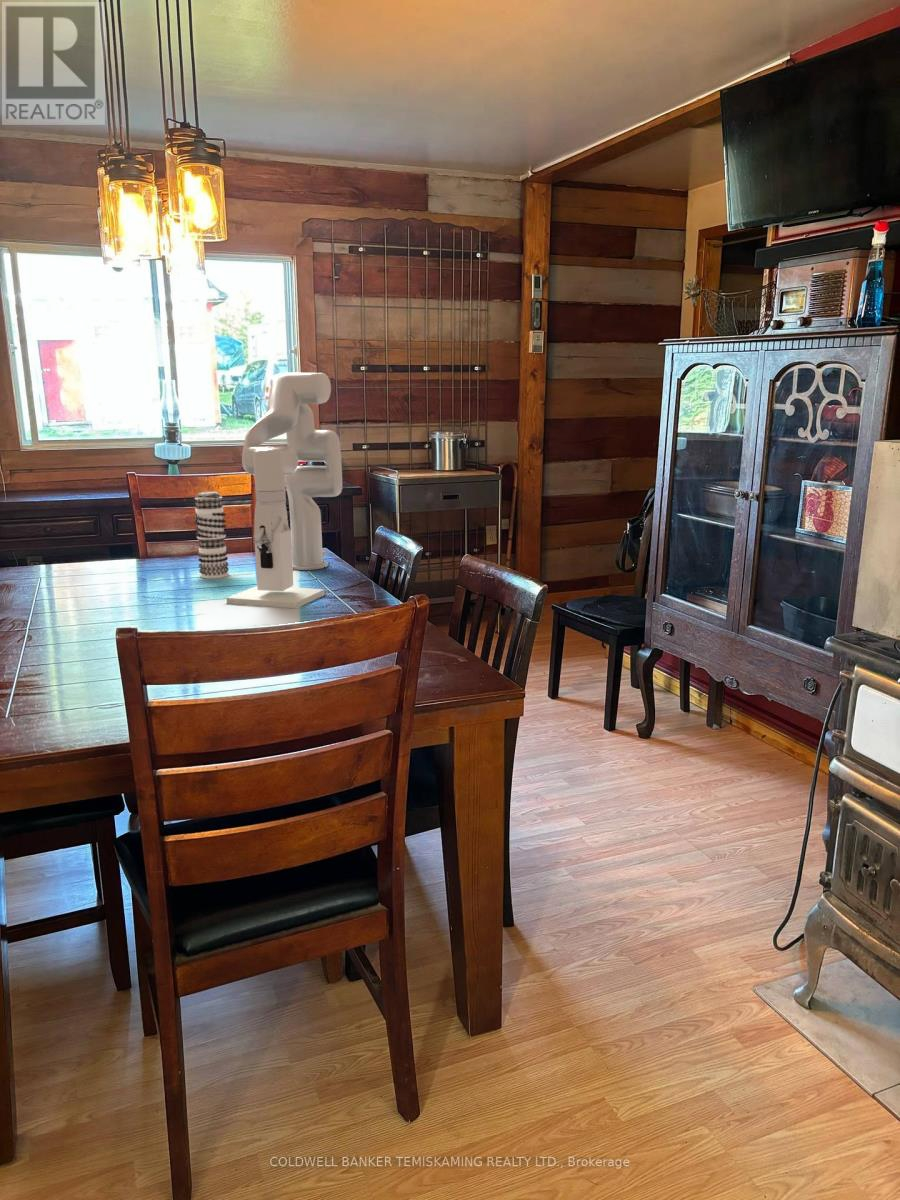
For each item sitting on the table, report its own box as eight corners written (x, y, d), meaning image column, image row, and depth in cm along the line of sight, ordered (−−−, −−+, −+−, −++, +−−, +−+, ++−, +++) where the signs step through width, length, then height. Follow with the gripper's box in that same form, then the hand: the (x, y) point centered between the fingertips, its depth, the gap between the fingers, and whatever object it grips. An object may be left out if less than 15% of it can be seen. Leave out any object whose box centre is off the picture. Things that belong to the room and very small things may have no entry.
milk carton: (283, 591, 211) (279, 518, 207) (257, 590, 213) (252, 517, 208) (293, 586, 218) (290, 514, 214) (268, 585, 219) (264, 514, 215)
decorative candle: (229, 571, 253) (223, 490, 247) (231, 577, 244) (225, 493, 239) (198, 573, 250) (191, 491, 244) (199, 579, 242) (192, 494, 236)
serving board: (258, 590, 226) (258, 585, 226) (324, 594, 220) (324, 589, 220) (226, 603, 211) (226, 597, 211) (296, 608, 205) (295, 602, 205)
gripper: (274, 493, 219) (278, 558, 223) (239, 500, 203) (244, 570, 207) (300, 494, 217) (303, 559, 221) (266, 501, 201) (270, 572, 205)
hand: (274, 564), depth 214 cm, fingers closed on milk carton, 7 cm apart
